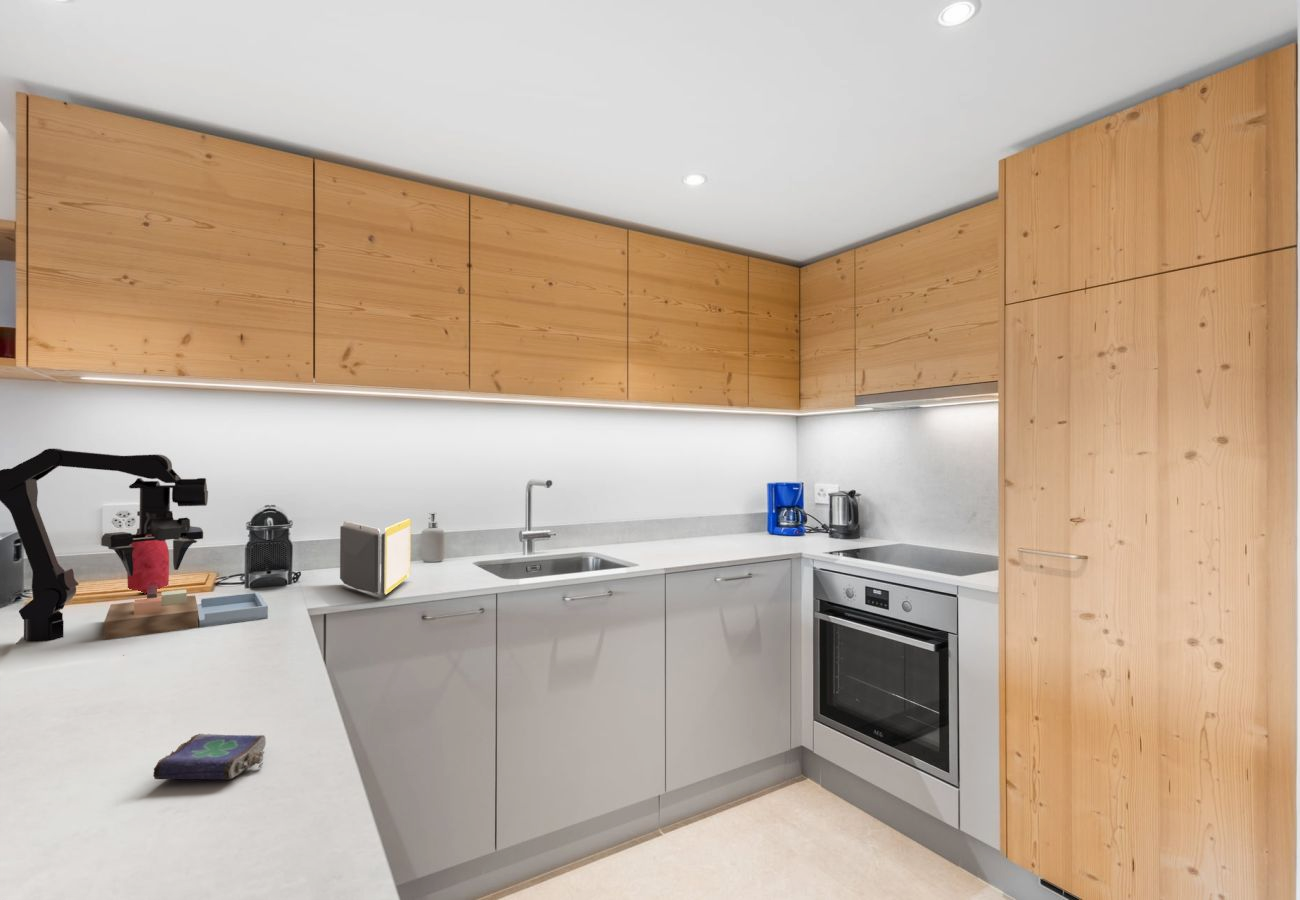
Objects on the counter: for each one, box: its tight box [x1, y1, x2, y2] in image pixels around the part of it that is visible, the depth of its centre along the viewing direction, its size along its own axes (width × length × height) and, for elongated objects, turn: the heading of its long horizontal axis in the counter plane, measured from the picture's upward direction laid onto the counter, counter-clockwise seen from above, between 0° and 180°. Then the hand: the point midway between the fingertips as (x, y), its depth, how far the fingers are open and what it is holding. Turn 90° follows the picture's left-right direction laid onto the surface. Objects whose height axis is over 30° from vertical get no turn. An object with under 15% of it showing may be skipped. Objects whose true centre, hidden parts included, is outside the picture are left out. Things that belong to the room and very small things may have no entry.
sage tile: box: [160, 588, 188, 606], centre depth 161 cm, size 5×5×2 cm
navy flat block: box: [152, 733, 267, 780], centre depth 84 cm, size 9×3×11 cm
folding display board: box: [339, 518, 412, 595], centre depth 204 cm, size 35×22×20 cm, turn 45°
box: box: [197, 591, 269, 628], centre depth 165 cm, size 14×20×3 cm
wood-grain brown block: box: [103, 595, 199, 641], centre depth 156 cm, size 17×20×4 cm
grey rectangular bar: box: [146, 585, 158, 599], centre depth 172 cm, size 2×14×5 cm, turn 37°
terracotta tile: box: [133, 596, 161, 615], centre depth 153 cm, size 5×5×2 cm
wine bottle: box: [126, 532, 170, 595], centre depth 192 cm, size 10×10×30 cm
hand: (154, 572), depth 154 cm, fingers open, 9 cm apart
